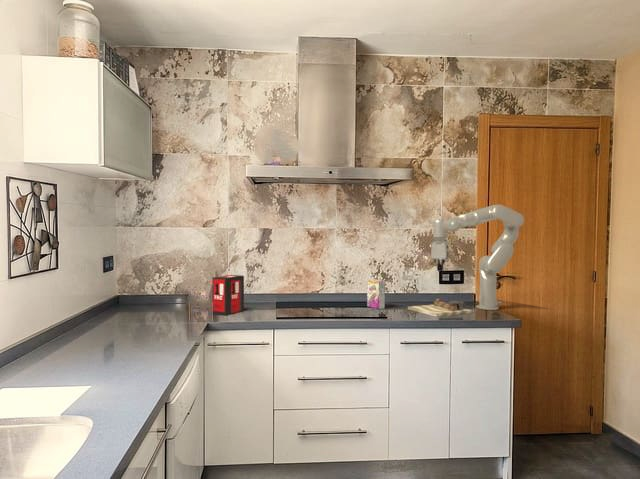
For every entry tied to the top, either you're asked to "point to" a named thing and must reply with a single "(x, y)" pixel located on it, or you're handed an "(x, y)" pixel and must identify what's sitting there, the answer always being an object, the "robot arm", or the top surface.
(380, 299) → the candy bar box
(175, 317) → the top surface
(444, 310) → the birch board
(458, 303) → the block
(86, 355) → the top surface
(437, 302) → the walnut link
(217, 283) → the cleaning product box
